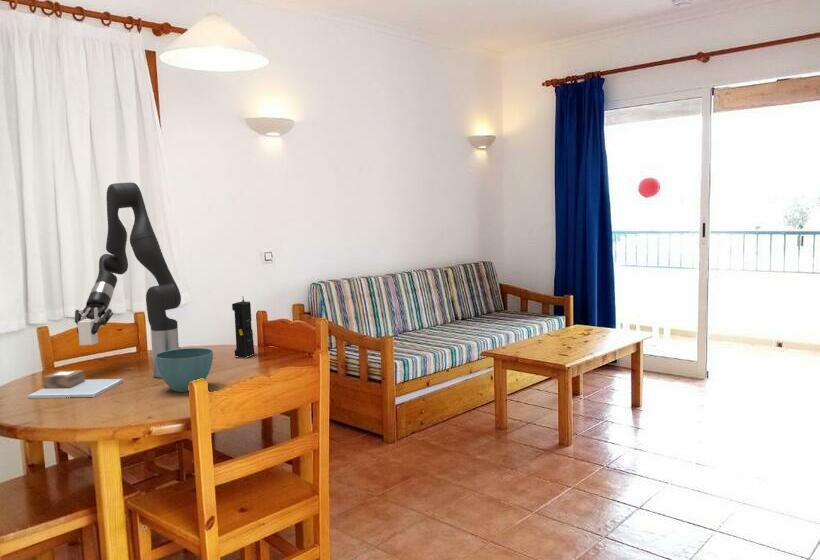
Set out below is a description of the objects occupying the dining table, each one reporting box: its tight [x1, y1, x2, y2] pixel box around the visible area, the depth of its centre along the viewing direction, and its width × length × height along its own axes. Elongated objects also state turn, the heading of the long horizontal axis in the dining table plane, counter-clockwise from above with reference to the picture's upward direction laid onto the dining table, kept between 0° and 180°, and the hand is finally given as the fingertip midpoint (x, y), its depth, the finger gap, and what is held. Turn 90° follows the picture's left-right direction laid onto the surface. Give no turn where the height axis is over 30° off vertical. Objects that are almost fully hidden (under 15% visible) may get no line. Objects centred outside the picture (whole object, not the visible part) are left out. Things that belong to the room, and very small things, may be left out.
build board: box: [26, 369, 124, 399], centre depth 216 cm, size 22×20×5 cm
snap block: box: [77, 319, 99, 346], centre depth 233 cm, size 4×4×9 cm
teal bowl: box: [155, 347, 214, 393], centre depth 214 cm, size 18×18×12 cm
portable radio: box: [231, 297, 255, 357], centre depth 263 cm, size 8×6×25 cm
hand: (86, 333), depth 232 cm, fingers closed on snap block, 4 cm apart
